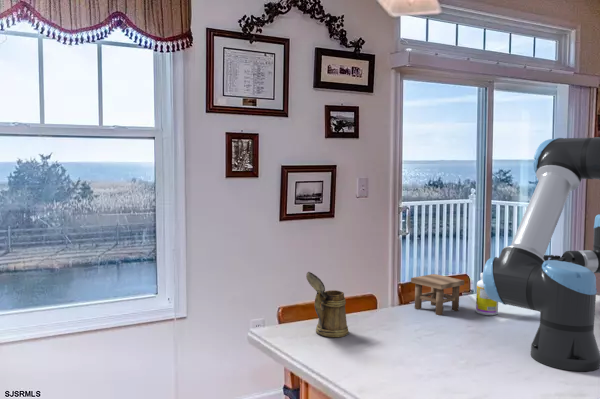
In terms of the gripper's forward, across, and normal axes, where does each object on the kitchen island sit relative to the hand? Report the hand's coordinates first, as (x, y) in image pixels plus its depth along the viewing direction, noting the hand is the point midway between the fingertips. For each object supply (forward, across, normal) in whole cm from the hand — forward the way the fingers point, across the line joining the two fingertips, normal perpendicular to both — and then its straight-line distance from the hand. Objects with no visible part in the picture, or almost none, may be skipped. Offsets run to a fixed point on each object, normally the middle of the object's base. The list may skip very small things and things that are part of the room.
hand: (518, 263), depth 170 cm
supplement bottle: (+11, 0, -16) cm, 19 cm away
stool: (+25, +5, -16) cm, 30 cm away
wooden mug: (+66, -18, -15) cm, 70 cm away
